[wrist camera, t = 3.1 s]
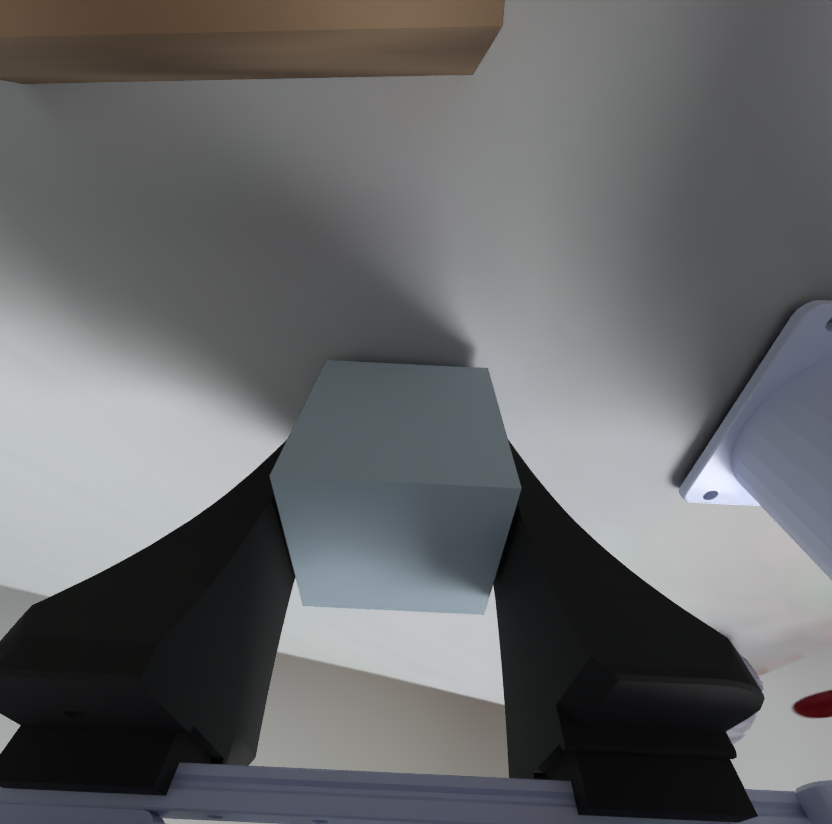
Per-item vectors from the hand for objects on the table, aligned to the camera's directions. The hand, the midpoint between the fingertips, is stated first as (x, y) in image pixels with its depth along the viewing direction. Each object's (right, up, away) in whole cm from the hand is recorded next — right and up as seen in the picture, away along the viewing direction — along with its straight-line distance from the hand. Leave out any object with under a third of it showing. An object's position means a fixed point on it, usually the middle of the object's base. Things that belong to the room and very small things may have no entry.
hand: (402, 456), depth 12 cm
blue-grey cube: (0, +1, +1) cm, 2 cm away
